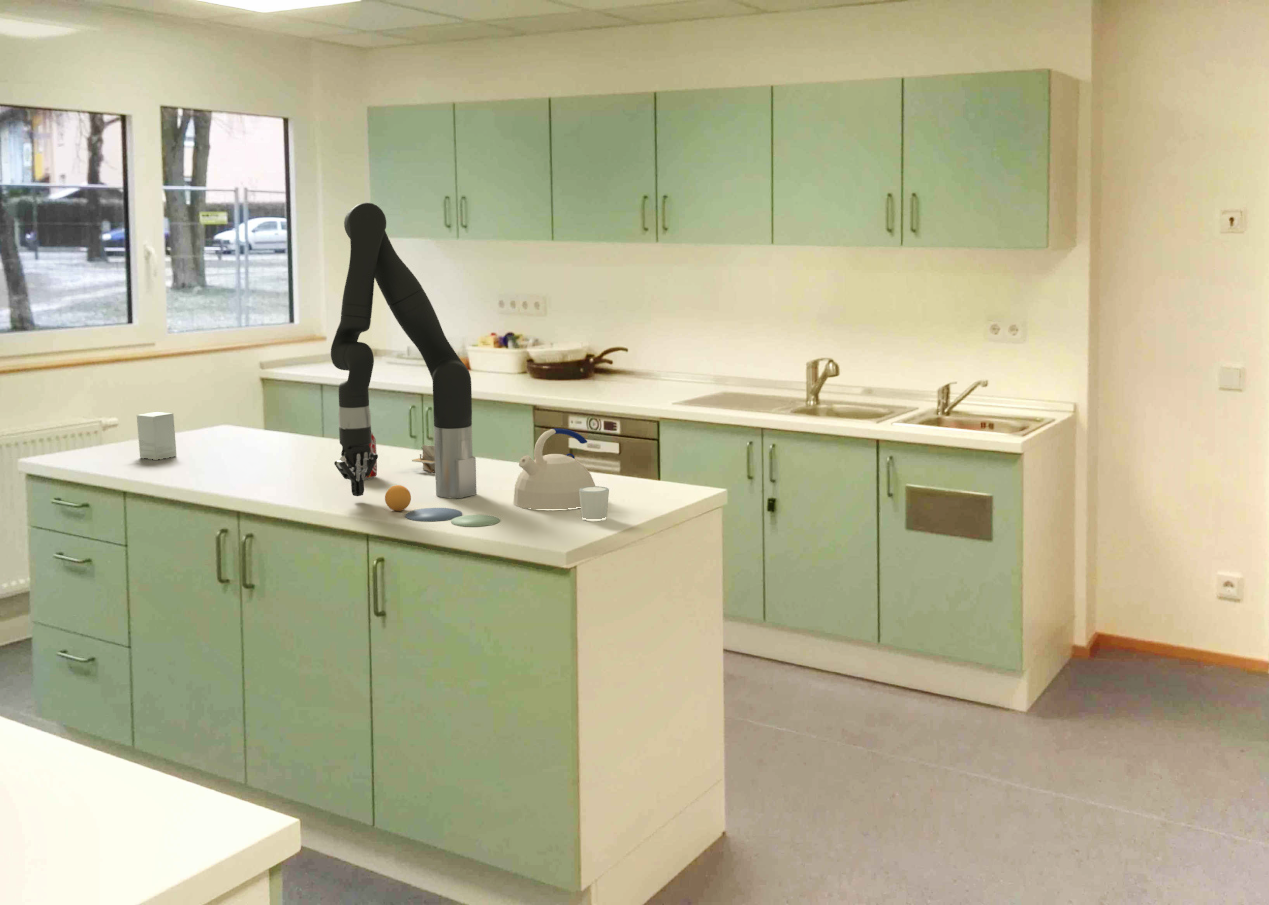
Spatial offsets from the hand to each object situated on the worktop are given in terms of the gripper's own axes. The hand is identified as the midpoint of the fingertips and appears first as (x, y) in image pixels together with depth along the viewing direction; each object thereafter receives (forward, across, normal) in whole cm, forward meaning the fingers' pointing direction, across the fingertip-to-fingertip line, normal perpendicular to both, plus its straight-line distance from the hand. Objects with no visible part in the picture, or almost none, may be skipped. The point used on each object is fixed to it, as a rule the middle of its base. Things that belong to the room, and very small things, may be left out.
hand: (357, 495), depth 316 cm
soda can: (+2, -22, -19) cm, 29 cm away
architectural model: (+2, -37, -10) cm, 39 cm away
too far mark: (+2, +1, +37) cm, 37 cm away
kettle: (+2, -25, +41) cm, 48 cm away
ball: (-2, +2, +15) cm, 15 cm away
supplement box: (+2, -13, -90) cm, 91 cm away
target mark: (+2, +1, +25) cm, 25 cm away
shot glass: (+2, -15, +59) cm, 61 cm away
